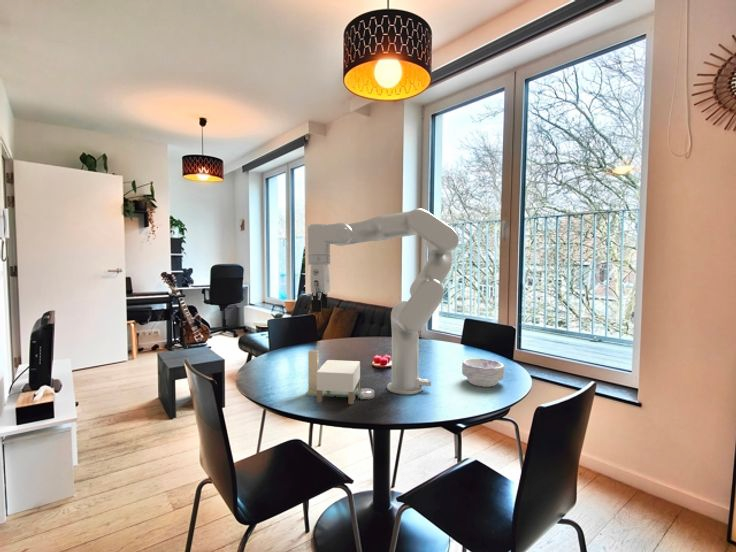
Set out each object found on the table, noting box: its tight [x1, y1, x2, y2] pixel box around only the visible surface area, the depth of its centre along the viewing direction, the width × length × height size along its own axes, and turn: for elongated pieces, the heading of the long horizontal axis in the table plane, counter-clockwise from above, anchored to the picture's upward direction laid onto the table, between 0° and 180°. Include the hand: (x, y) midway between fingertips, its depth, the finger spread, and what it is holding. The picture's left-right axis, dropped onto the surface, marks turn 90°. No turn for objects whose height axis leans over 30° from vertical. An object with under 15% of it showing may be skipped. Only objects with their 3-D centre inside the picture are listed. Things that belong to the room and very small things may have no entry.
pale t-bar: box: [305, 349, 358, 400], centre depth 133 cm, size 17×7×15 cm, turn 83°
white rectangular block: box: [316, 359, 361, 405], centre depth 132 cm, size 12×15×10 cm
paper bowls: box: [461, 357, 505, 388], centre depth 146 cm, size 15×15×8 cm
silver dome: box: [356, 387, 375, 400], centre depth 132 cm, size 6×6×2 cm
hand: (320, 309), depth 134 cm, fingers open, 9 cm apart
